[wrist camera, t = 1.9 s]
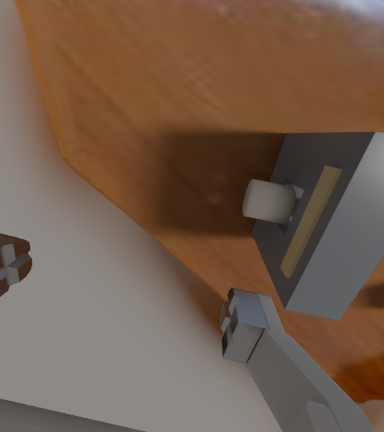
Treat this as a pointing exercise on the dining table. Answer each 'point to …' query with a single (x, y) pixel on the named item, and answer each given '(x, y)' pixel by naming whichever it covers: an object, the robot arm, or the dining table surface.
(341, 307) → the control block
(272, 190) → the knob
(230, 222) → the dining table surface
